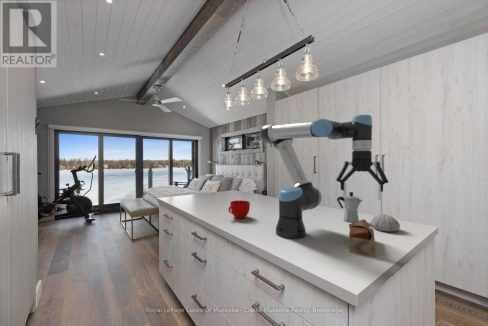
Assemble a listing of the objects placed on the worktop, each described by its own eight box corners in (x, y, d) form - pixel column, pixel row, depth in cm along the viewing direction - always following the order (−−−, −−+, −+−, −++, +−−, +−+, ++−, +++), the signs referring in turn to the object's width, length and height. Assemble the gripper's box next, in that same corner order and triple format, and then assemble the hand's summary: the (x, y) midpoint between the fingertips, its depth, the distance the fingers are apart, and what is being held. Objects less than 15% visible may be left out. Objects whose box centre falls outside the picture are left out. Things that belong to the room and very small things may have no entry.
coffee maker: (364, 221, 129) (364, 192, 129) (360, 224, 123) (361, 194, 122) (338, 217, 139) (339, 190, 139) (334, 219, 132) (334, 191, 132)
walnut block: (349, 252, 86) (349, 238, 86) (351, 237, 103) (351, 225, 102) (374, 257, 82) (374, 242, 82) (373, 241, 98) (373, 228, 98)
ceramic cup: (221, 218, 134) (221, 203, 134) (239, 213, 147) (239, 199, 147) (236, 222, 125) (236, 206, 125) (253, 217, 138) (253, 202, 138)
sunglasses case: (347, 224, 103) (355, 213, 102) (361, 233, 101) (369, 222, 99) (348, 236, 87) (358, 223, 86) (365, 247, 85) (375, 234, 83)
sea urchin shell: (368, 229, 114) (368, 215, 114) (372, 224, 124) (373, 210, 124) (398, 235, 105) (399, 219, 105) (400, 229, 115) (400, 214, 115)
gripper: (332, 150, 92) (332, 198, 92) (398, 150, 86) (397, 201, 86) (330, 151, 99) (329, 195, 99) (390, 150, 93) (389, 198, 93)
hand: (361, 198), depth 93 cm, fingers open, 13 cm apart
